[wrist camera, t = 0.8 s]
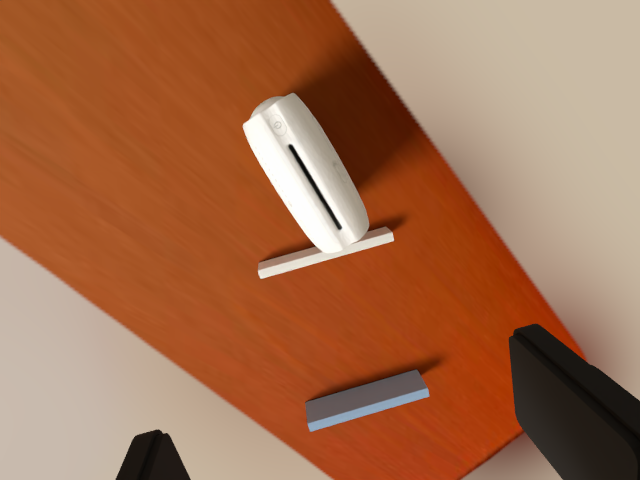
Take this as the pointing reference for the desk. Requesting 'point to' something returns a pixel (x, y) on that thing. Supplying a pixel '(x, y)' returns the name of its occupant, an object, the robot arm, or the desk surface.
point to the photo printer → (307, 172)
